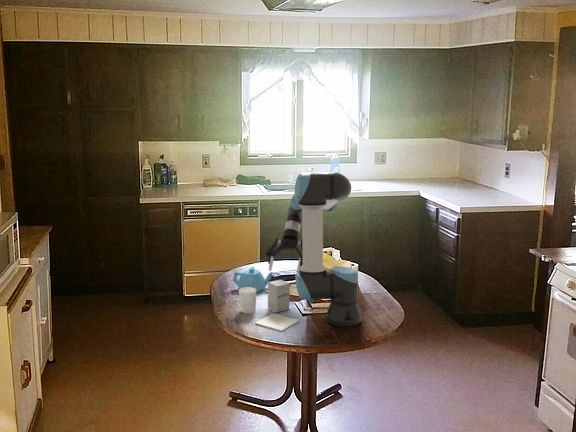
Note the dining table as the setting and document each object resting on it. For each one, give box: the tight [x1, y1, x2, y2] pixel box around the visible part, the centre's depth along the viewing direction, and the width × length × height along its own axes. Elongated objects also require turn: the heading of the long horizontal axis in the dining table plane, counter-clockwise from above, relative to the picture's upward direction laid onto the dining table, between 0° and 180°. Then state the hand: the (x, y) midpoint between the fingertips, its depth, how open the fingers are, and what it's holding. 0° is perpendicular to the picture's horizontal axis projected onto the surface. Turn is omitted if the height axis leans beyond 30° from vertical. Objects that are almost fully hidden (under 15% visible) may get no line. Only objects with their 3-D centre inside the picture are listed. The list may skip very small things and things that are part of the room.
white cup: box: [238, 287, 257, 314], centre depth 279 cm, size 8×8×10 cm
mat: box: [254, 313, 300, 333], centre depth 266 cm, size 14×13×1 cm
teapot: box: [231, 266, 273, 293], centre depth 308 cm, size 15×15×11 cm
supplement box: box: [267, 279, 291, 313], centre depth 281 cm, size 7×7×13 cm
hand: (283, 271), depth 289 cm, fingers open, 13 cm apart
